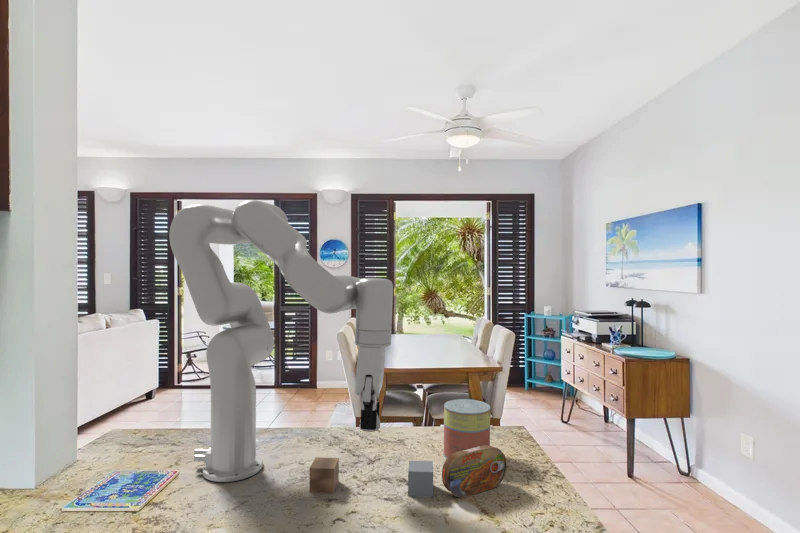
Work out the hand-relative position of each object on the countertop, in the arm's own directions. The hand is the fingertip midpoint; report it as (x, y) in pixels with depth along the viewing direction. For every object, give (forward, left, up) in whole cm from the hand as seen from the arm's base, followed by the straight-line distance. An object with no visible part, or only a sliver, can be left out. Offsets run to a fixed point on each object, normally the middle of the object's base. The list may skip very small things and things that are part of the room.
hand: (369, 423), depth 93 cm
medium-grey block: (+11, -1, -13) cm, 17 cm away
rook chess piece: (0, 0, -1) cm, 1 cm away
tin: (+22, 0, -13) cm, 25 cm away
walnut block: (-9, -1, -13) cm, 16 cm away
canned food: (+22, +17, -13) cm, 30 cm away
